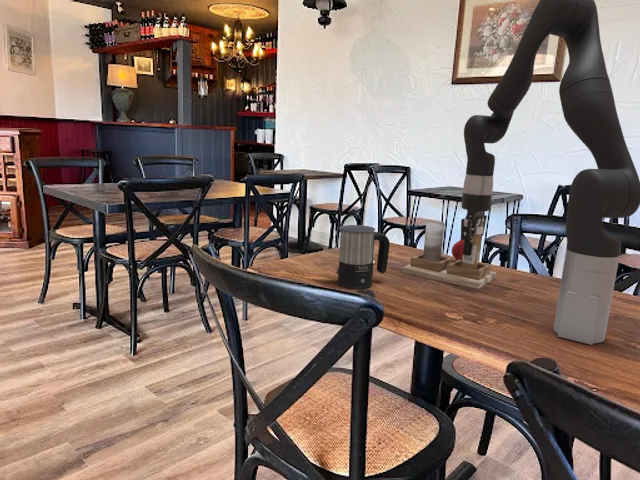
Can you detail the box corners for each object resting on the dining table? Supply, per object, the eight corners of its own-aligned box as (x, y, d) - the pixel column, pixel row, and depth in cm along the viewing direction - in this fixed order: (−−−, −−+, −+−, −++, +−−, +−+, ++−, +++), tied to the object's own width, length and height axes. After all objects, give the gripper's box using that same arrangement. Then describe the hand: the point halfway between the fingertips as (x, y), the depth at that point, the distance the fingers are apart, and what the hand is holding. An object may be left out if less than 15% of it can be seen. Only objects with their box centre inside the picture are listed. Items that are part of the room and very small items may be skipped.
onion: (471, 262, 155) (474, 238, 153) (466, 266, 150) (469, 240, 148) (453, 259, 158) (456, 235, 156) (447, 262, 153) (450, 237, 151)
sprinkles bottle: (480, 274, 135) (487, 227, 131) (469, 276, 132) (476, 228, 129) (467, 270, 138) (473, 223, 135) (456, 272, 136) (462, 224, 133)
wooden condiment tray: (478, 289, 126) (484, 234, 124) (401, 272, 139) (406, 222, 136) (495, 277, 138) (501, 227, 135) (423, 263, 151) (428, 217, 148)
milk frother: (353, 291, 119) (357, 232, 116) (312, 276, 131) (315, 222, 128) (392, 282, 128) (396, 227, 125) (350, 269, 140) (353, 218, 137)
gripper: (482, 195, 123) (475, 260, 126) (499, 192, 134) (492, 252, 138) (454, 192, 127) (447, 255, 130) (472, 189, 138) (466, 247, 142)
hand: (470, 253), depth 134 cm, fingers open, 5 cm apart
